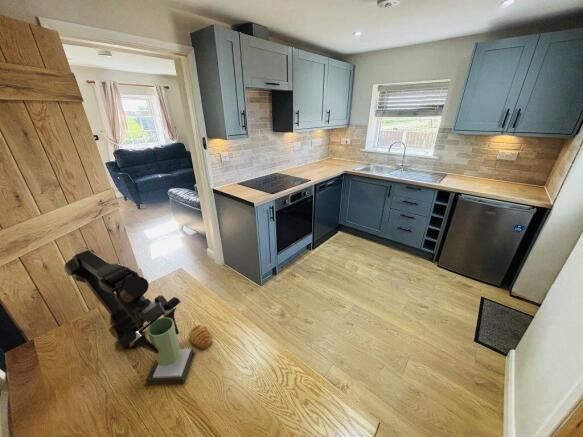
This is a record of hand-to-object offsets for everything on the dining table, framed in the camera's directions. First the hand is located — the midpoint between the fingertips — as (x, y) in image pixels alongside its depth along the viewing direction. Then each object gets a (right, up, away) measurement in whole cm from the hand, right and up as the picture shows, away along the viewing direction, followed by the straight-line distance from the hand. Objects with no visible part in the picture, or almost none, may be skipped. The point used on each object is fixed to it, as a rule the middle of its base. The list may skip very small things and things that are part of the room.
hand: (168, 343), depth 72 cm
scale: (-2, -12, +6) cm, 13 cm away
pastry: (+4, -7, +17) cm, 18 cm away
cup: (-1, -6, +3) cm, 7 cm away
